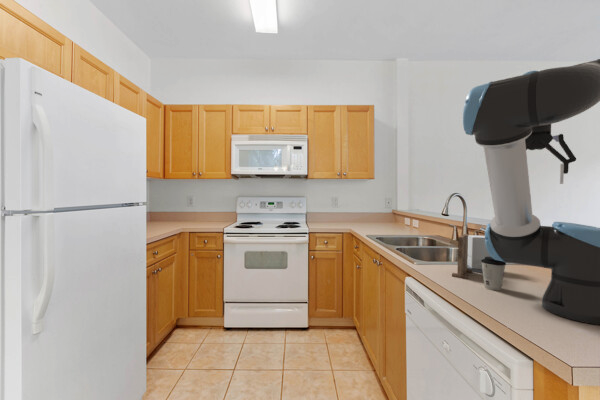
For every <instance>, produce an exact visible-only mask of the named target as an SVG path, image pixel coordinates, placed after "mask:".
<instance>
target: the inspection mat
mask: <svg viewBox="0 0 600 400" xmlns="http://www.w3.org/2000/svg"><path fill="white" fill-rule="evenodd" d="M467 269H470V270H473V273H479V274H483V269H475V268H471V267H470V266H468V265H467Z"/></svg>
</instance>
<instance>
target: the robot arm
mask: <svg viewBox="0 0 600 400" xmlns="http://www.w3.org/2000/svg"><path fill="white" fill-rule="evenodd" d="M467 93H468V94H467V95H466V98H465V102H464V105H463V110H462V111H463V112H462V123H463V124H462V125H463V131H464V132H465V134H466V135H468V136H474V138H475V143H476V144H477V145H479V146H481V147H482V148H483V152H484V158H485V163H486V170H487V175H488V176H487V177H488V182H489V187H490V194H491V200H492V206H493V212H494V213H493V214H494V217H492V219H491V220H490V222H489V223H487V225H486V227H485V230H484V236H485V245H486V249H487V251H488V253H489V255H490V256H491V257H492V258H493V259H495V260H498V261H503V262H506V264H515V265H516V264H517V265H523V266H530V267H538V268H542V269H543V268H544V269H548V270H549V269H550V270H551V276H550V277H551V279H550V281H549V283H548V285H547V287H546V289H545V292H544V293H543V295H542V299H541V306H542V308H544V309H545V310H546V311H548V312H550V313H551V314H554V315H556V316H559V317H563V318H566V319H568V320H569V319H570V320H573V321H577V322H581V323H585V324H592V325H598V326H600V227H597V226H592V225H586V224H581V223H574V222H573V223H572V222H565V221H553V222H552V224H551V226H549V225H547V226H546V225H541V220H540V219H539V218H538V217H537V216H536V215H535V214H533V205H532V197H531V187H530V175H529V167H528V165H529V164H528V156H527V150H528V151H534V150H539V151H540V150H543V149H546V150H547V151H549V152H550V153H551V154H552V155H553V156H555V158H556V159H558V160H559V161H560V162H562V163H561V164H560V166H559V168H560V169H559V184H560V185H563V184H564V175H565V174H568V173H569V165H570V163H574V162H575V161H576V160H577V158H576V156H575V154H574V153H573V152H572V150H571V148H570V147H569V146H568V144H567V143H566V141H565V139H564V137H565V136H564V134H563V133H559V134H558V135H557V134H556V135H552V124H556V123H557V124H558V123H559V122H562V121H565V120H568V119H571V118H573V117H575V116H578V115H580V114H582V113H584V112H586V111H587V110H589V109H591V108H593V107H594V106H595V105H597V104H598V103H600V58H597V59H595V60H590V61H587V62H582V63H577V64H574V65H570V66H560V67H550V68H546V69H541V70H539V71H538V70H530V71H527V72H525V73H524V74H521V75H517V76H512V77H508V78H504V79H499V80H494V81H492V80H491V81H489V82H488V83H484V84H481V85H476V86H475V87H473V88H471V90H469V92H467ZM553 140H554V141H555V142H556V143H557V142H558V144H559V145H560V147H561V148H562V151H564V152H565V154H566V156H567V158H568V159H567V158H566V157H565V156H564V155H563V154H561V153H560V152H559V151H558V150H557V149H555V148H554V146H552V145H551V144H550V143H551V142H552V141H553Z"/></svg>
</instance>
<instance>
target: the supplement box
mask: <svg viewBox="0 0 600 400" xmlns="http://www.w3.org/2000/svg"><path fill="white" fill-rule="evenodd" d="M485 257H491V256H490V255H489V253H488V251H487V249H486V245H485V235H475V234H474V235H472V234H471V235H470V234H468V259H467V265H468V266H470V267H471V268H475V269H482V262H481V260H482V259H485Z"/></svg>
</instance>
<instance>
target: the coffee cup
mask: <svg viewBox="0 0 600 400" xmlns="http://www.w3.org/2000/svg"><path fill="white" fill-rule="evenodd" d="M481 262H482V269H483V273H482V277H483V285H484V286H483V287H484V288H485V289H486V290H491V291H497V292H498V291H501V290H502V286H503V280H504V274H505V269H506V265H507V263H506V262H503V261H498V260H495V259H493V258H492V257H485V259H482V260H481Z"/></svg>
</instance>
